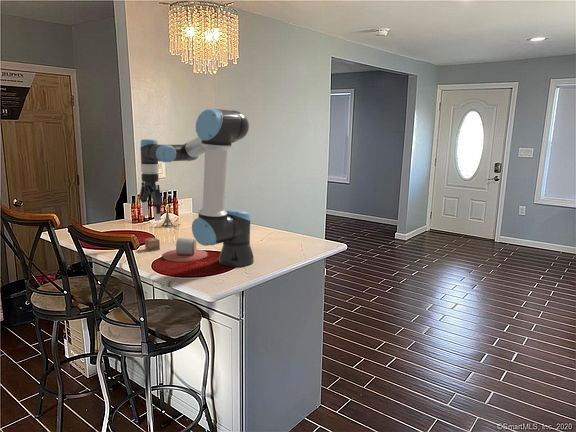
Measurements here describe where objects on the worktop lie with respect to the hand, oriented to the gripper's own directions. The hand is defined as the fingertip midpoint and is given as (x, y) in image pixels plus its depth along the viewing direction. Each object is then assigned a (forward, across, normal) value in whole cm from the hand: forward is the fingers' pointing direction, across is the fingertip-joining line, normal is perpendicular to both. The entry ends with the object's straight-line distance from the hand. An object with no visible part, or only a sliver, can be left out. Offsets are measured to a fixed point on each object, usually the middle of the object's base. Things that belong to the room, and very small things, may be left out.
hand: (151, 218), depth 207 cm
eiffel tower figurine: (+16, +44, -30) cm, 56 cm away
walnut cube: (+15, 0, 0) cm, 15 cm away
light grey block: (+15, -18, -8) cm, 25 cm away
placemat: (+15, -19, -7) cm, 26 cm away
